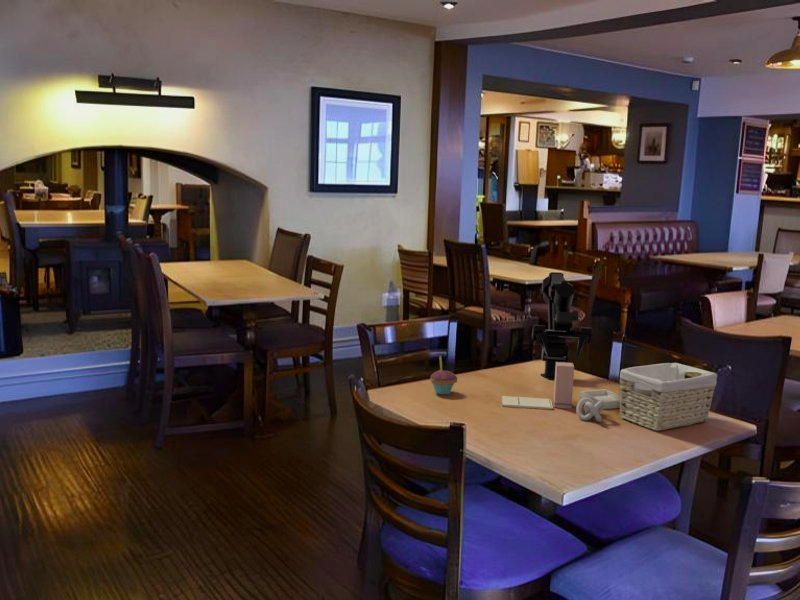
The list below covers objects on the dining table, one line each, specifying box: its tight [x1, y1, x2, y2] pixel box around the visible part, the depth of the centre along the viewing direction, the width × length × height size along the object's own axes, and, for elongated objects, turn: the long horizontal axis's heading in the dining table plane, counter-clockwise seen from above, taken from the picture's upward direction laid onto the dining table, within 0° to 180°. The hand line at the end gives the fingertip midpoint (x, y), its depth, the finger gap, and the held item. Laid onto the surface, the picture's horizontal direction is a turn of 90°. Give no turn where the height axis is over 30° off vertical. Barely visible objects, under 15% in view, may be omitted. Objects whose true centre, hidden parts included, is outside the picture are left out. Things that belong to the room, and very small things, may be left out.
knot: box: [575, 398, 605, 423], centre depth 202 cm, size 8×8×6 cm
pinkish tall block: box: [552, 362, 575, 409], centre depth 214 cm, size 5×5×13 cm
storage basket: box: [619, 362, 718, 432], centre depth 202 cm, size 24×16×15 cm
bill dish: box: [578, 388, 620, 410], centre depth 220 cm, size 12×10×2 cm
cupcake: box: [430, 355, 458, 396], centre depth 224 cm, size 9×8×12 cm
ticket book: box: [501, 395, 554, 410], centre depth 216 cm, size 9×15×1 cm, turn 83°
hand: (562, 356), depth 221 cm, fingers open, 9 cm apart
